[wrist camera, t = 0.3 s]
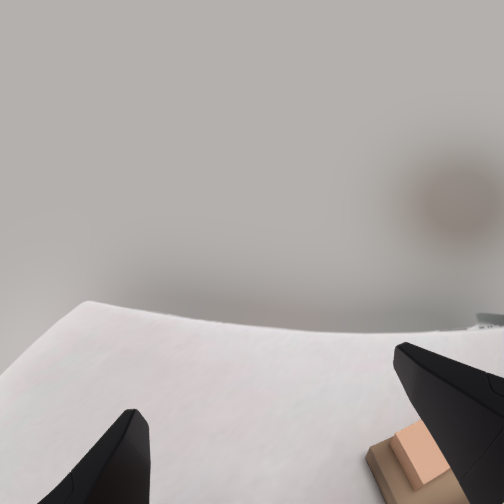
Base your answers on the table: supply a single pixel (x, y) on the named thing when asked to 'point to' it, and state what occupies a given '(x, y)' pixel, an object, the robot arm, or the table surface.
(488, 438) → the robot arm
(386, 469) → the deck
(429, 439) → the terracotta tile
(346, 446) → the table surface
